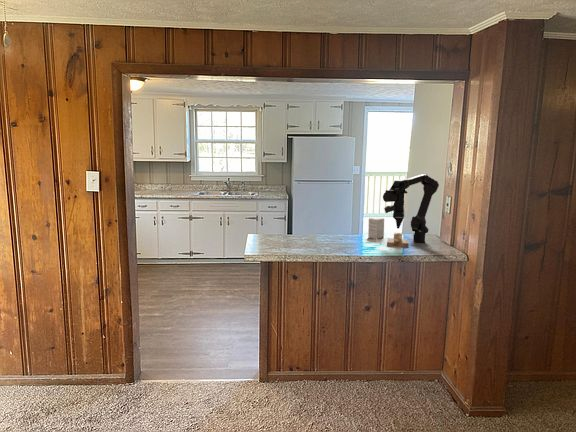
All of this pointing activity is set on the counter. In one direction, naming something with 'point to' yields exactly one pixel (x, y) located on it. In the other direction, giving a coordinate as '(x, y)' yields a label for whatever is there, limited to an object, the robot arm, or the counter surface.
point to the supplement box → (376, 228)
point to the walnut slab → (397, 243)
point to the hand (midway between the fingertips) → (398, 227)
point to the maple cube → (398, 237)
